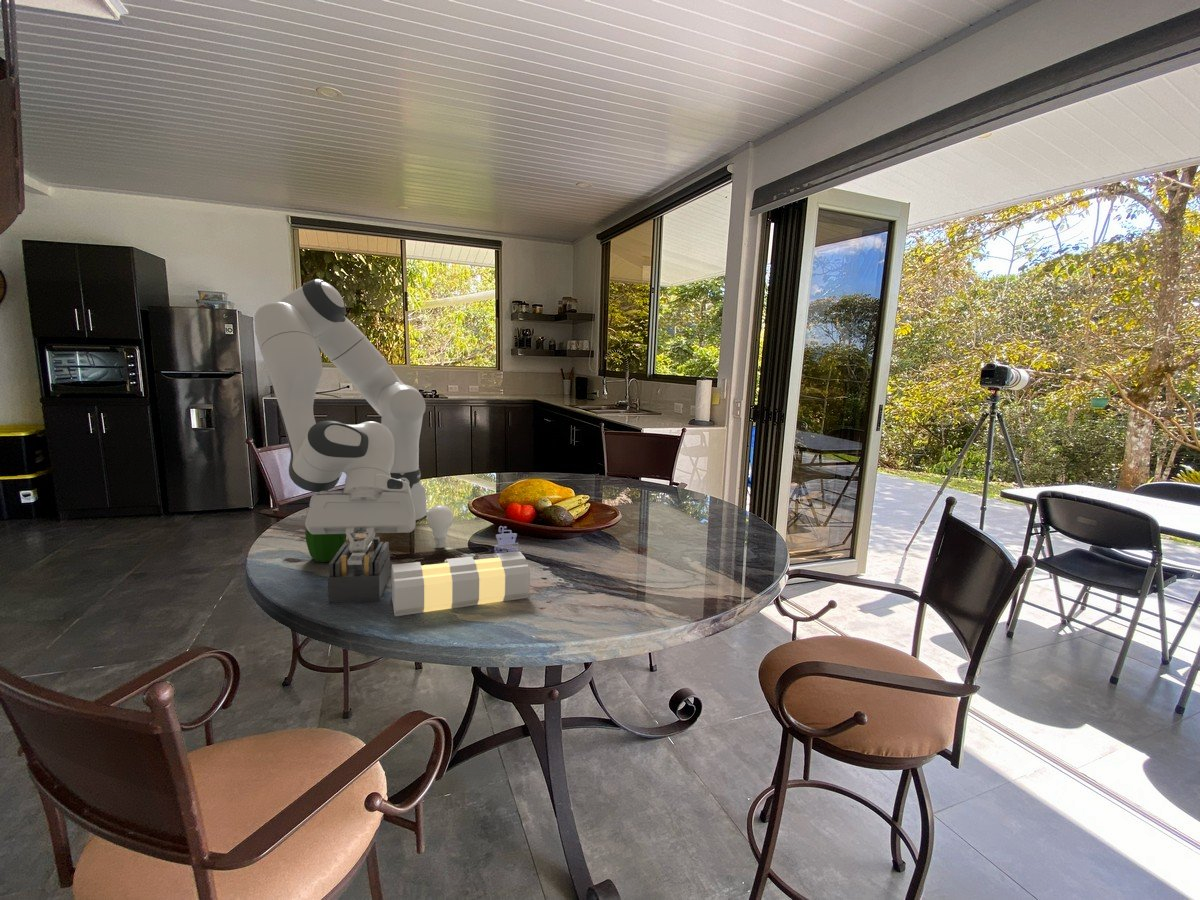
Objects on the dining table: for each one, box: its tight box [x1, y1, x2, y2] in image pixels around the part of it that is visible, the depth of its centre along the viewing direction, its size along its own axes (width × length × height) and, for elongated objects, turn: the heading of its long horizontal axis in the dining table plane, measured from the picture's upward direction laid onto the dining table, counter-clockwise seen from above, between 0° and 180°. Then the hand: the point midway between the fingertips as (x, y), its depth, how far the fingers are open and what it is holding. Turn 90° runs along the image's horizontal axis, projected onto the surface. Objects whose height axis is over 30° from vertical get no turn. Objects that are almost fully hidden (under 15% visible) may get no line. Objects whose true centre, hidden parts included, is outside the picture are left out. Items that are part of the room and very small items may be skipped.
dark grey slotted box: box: [327, 536, 391, 603], centre depth 106 cm, size 13×9×8 cm
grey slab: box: [347, 539, 374, 565], centre depth 106 cm, size 12×2×1 cm, turn 13°
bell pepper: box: [304, 528, 347, 563], centre depth 120 cm, size 8×8×10 cm
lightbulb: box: [426, 504, 454, 550], centre depth 130 cm, size 6×6×11 cm
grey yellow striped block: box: [390, 525, 531, 617], centre depth 103 cm, size 25×10×13 cm, turn 115°
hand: (357, 551), depth 102 cm, fingers closed
